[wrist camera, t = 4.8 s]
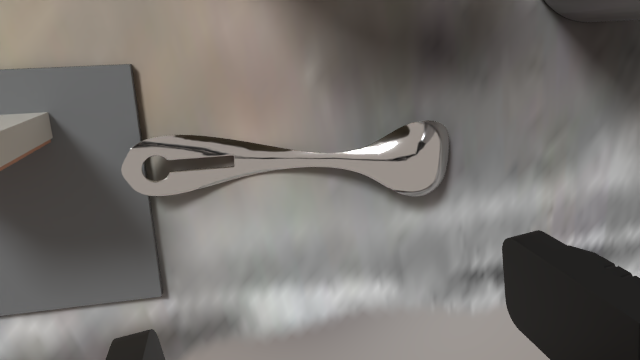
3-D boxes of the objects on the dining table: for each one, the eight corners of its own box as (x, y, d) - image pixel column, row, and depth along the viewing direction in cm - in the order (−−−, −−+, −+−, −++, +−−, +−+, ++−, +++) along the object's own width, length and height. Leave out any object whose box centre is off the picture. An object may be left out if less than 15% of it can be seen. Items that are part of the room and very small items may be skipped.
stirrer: (120, 224, 25) (110, 134, 24) (128, 203, 28) (119, 123, 27) (467, 198, 30) (474, 122, 29) (439, 182, 33) (444, 113, 32)
